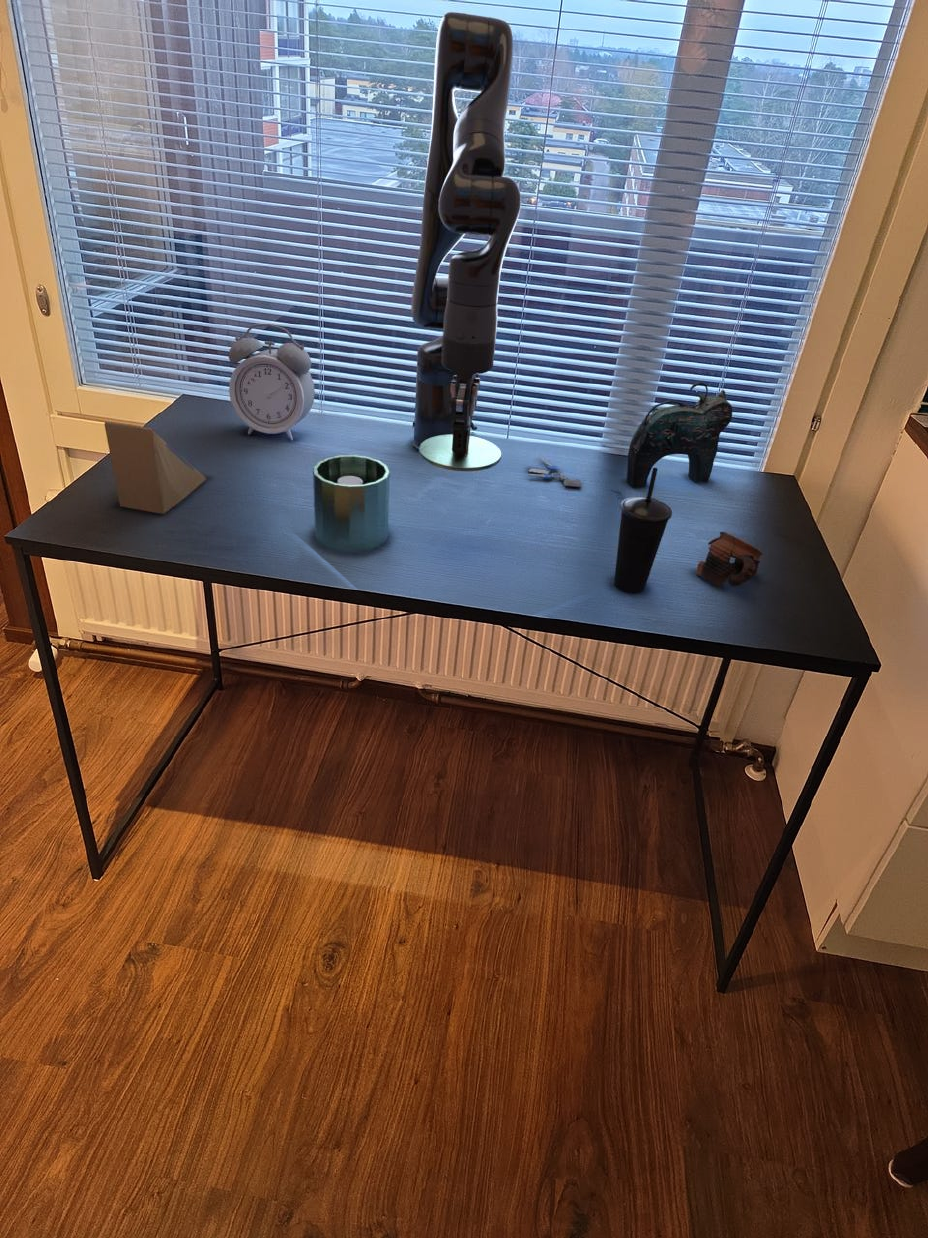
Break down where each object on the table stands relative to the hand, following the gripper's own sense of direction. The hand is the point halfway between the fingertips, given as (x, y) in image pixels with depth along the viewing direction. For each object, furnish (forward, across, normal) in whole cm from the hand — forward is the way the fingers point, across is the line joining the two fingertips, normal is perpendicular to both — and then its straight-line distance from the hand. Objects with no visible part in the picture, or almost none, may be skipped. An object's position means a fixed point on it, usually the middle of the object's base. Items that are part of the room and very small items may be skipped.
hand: (460, 447), depth 126 cm
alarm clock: (+18, +38, +43) cm, 60 cm away
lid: (+1, 0, 0) cm, 1 cm away
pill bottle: (+17, -1, +17) cm, 24 cm away
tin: (+18, -1, +17) cm, 24 cm away
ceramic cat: (+18, +38, -39) cm, 57 cm away
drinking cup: (+18, -5, -29) cm, 34 cm away
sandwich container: (+18, +6, +52) cm, 56 cm away
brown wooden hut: (+18, +2, -45) cm, 49 cm away
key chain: (+18, +33, -14) cm, 40 cm away
